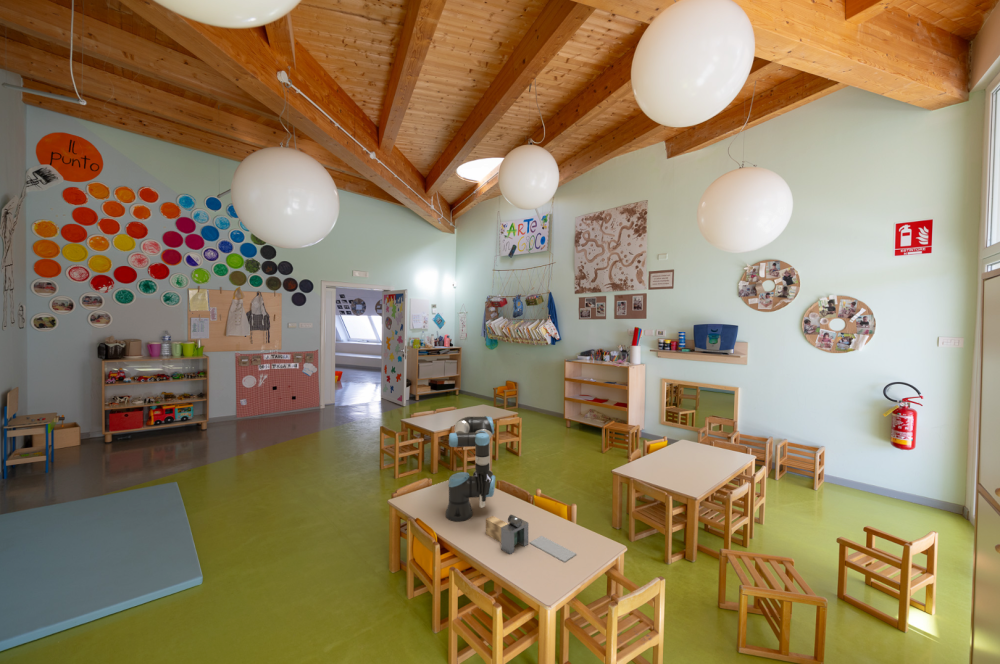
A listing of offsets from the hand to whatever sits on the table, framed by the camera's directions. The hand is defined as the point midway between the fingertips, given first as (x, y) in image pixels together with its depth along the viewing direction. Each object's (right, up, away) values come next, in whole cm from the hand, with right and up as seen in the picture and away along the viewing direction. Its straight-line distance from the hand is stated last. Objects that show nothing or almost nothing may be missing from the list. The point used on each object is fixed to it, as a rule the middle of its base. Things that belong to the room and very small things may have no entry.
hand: (482, 506), depth 222 cm
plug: (+10, -12, -10) cm, 19 cm away
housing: (+17, -13, -17) cm, 27 cm away
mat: (+35, -13, -19) cm, 42 cm away
